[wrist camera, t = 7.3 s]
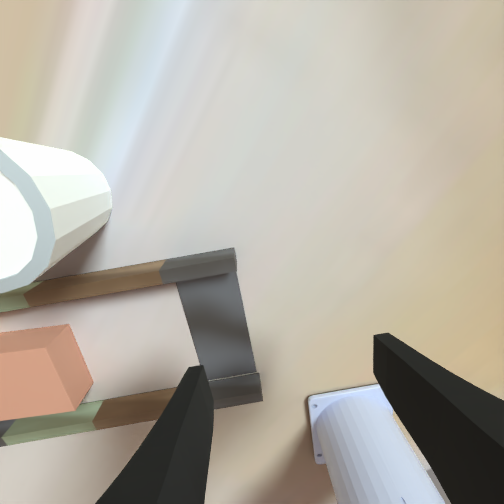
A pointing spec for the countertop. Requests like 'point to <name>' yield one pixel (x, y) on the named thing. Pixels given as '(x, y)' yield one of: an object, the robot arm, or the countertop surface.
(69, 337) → the brick block
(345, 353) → the countertop surface
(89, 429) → the channel
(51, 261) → the shot glass
